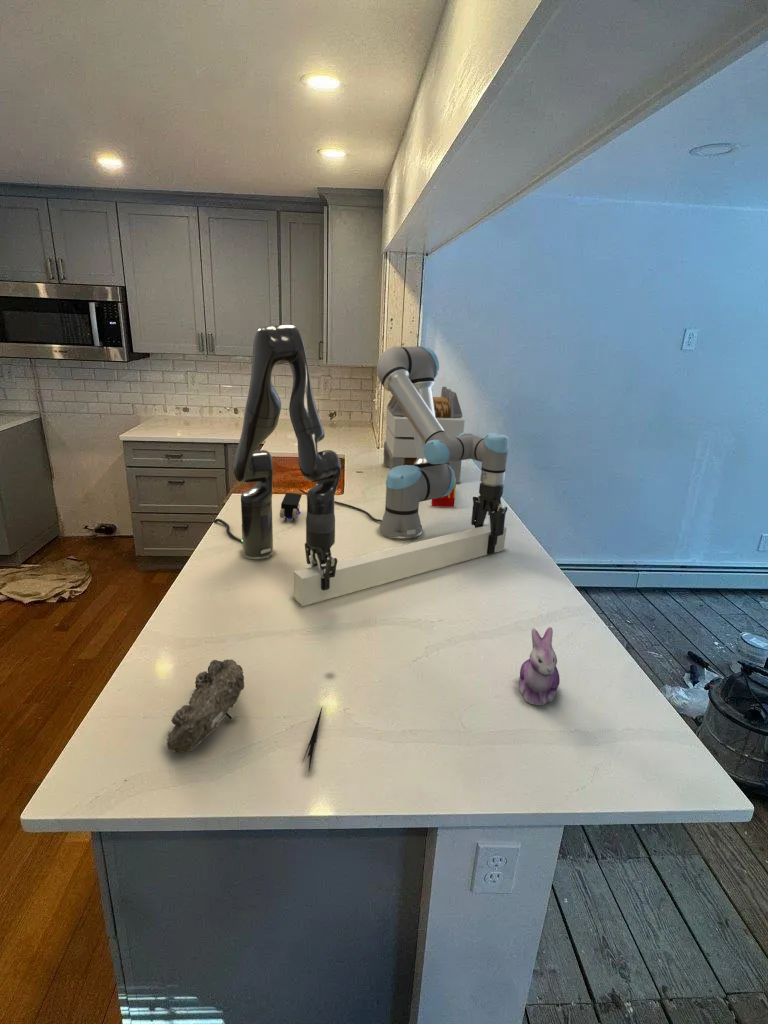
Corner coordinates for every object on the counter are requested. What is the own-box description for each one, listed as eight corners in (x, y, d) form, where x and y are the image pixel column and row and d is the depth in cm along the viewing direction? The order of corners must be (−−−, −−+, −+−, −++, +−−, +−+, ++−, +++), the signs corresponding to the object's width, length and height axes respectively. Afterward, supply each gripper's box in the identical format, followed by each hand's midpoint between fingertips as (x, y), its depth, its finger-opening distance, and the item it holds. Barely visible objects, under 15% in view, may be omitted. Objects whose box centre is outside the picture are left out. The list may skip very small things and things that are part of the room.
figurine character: (298, 528, 204) (302, 509, 218) (297, 509, 201) (302, 491, 214) (279, 527, 204) (285, 509, 217) (278, 508, 201) (284, 491, 214)
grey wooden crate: (382, 463, 289) (386, 382, 275) (445, 464, 293) (451, 384, 279) (390, 482, 257) (394, 392, 243) (460, 483, 261) (468, 394, 247)
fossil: (192, 660, 117) (244, 628, 112) (224, 691, 120) (276, 661, 115) (142, 746, 98) (202, 712, 93) (182, 779, 101) (242, 748, 96)
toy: (449, 465, 254) (460, 474, 224) (447, 494, 256) (458, 508, 227) (422, 464, 253) (429, 474, 224) (421, 494, 256) (428, 507, 227)
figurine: (537, 713, 113) (548, 649, 108) (505, 684, 121) (513, 623, 116) (572, 701, 117) (584, 638, 112) (538, 673, 125) (548, 613, 120)
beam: (493, 545, 194) (495, 523, 191) (503, 550, 190) (506, 527, 187) (294, 598, 153) (293, 571, 150) (302, 606, 149) (302, 578, 146)
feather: (331, 679, 122) (336, 673, 122) (307, 777, 96) (313, 769, 95) (324, 675, 122) (329, 669, 121) (298, 772, 95) (304, 764, 95)
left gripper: (295, 520, 151) (295, 577, 157) (321, 538, 140) (320, 599, 146) (320, 516, 155) (319, 572, 161) (347, 533, 144) (345, 592, 150)
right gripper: (463, 477, 185) (457, 542, 193) (504, 492, 171) (495, 562, 179) (480, 474, 189) (473, 538, 197) (521, 489, 175) (512, 557, 183)
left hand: (320, 584), depth 153 cm, fingers closed on beam, 5 cm apart
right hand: (484, 550), depth 188 cm, fingers closed on beam, 5 cm apart
